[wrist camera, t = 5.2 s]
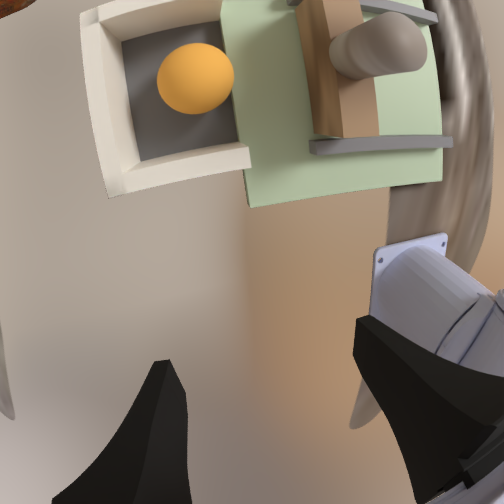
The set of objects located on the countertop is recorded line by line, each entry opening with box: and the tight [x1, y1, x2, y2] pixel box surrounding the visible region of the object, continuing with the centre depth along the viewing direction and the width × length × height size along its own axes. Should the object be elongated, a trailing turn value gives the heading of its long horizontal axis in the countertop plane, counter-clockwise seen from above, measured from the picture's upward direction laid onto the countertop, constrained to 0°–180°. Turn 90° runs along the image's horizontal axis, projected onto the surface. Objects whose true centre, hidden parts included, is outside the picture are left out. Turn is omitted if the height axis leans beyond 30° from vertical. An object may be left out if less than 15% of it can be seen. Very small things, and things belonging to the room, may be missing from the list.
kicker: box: [295, 0, 427, 138], centre depth 11 cm, size 8×2×8 cm, turn 8°
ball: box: [157, 43, 234, 114], centre depth 13 cm, size 4×4×4 cm
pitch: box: [80, 0, 453, 208], centre depth 14 cm, size 16×22×4 cm
